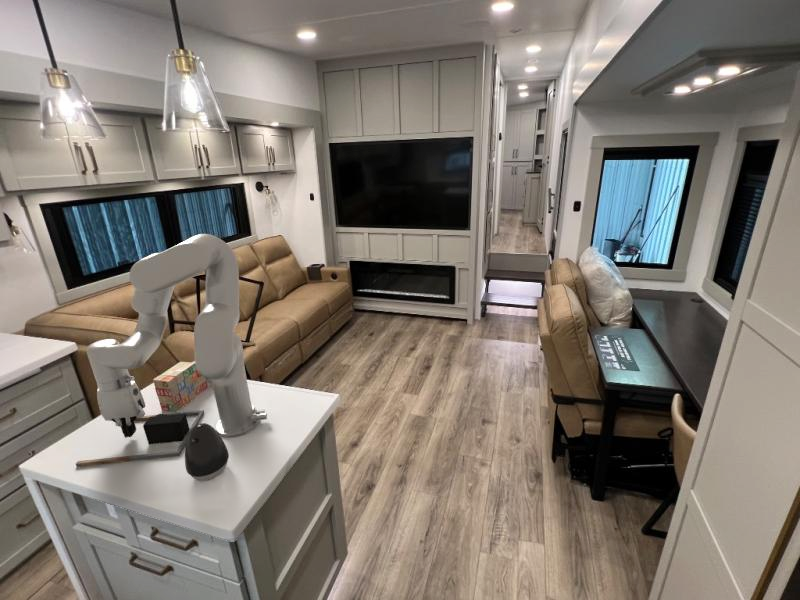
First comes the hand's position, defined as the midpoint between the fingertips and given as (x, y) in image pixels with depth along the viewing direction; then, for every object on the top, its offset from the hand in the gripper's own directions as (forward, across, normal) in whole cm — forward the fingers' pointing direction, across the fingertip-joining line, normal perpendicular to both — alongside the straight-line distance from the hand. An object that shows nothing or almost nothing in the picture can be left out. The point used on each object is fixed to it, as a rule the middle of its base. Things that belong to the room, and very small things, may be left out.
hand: (130, 434), depth 115 cm
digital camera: (+2, -11, +1) cm, 12 cm away
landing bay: (+2, -11, 0) cm, 11 cm away
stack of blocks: (+2, -9, -23) cm, 25 cm away
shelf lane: (+2, +2, 0) cm, 3 cm away
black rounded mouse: (+2, -29, +18) cm, 34 cm away
